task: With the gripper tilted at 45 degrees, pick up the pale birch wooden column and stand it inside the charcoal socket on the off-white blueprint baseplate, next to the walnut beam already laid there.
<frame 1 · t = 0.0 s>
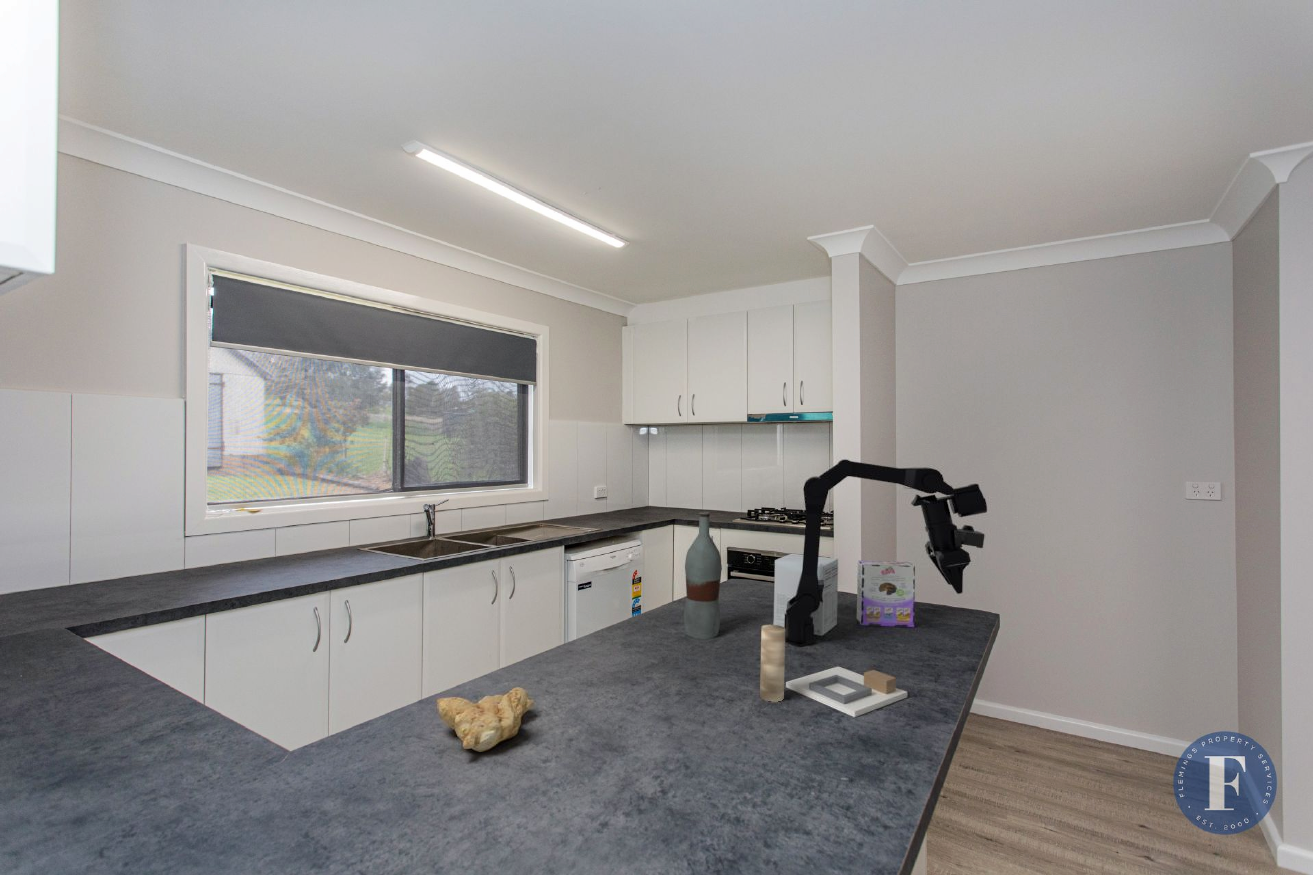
hand: (955, 588, 144), 15 cm above the counter, tool pointing down, fingers open, 9 cm apart
candy box: (884, 624, 170), on the counter
bottle: (701, 634, 157), on the counter
supplement box: (805, 626, 166), on the counter
wooden column: (771, 697, 119), on the counter
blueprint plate: (845, 691, 122), on the counter
ginger root: (486, 738, 101), on the counter
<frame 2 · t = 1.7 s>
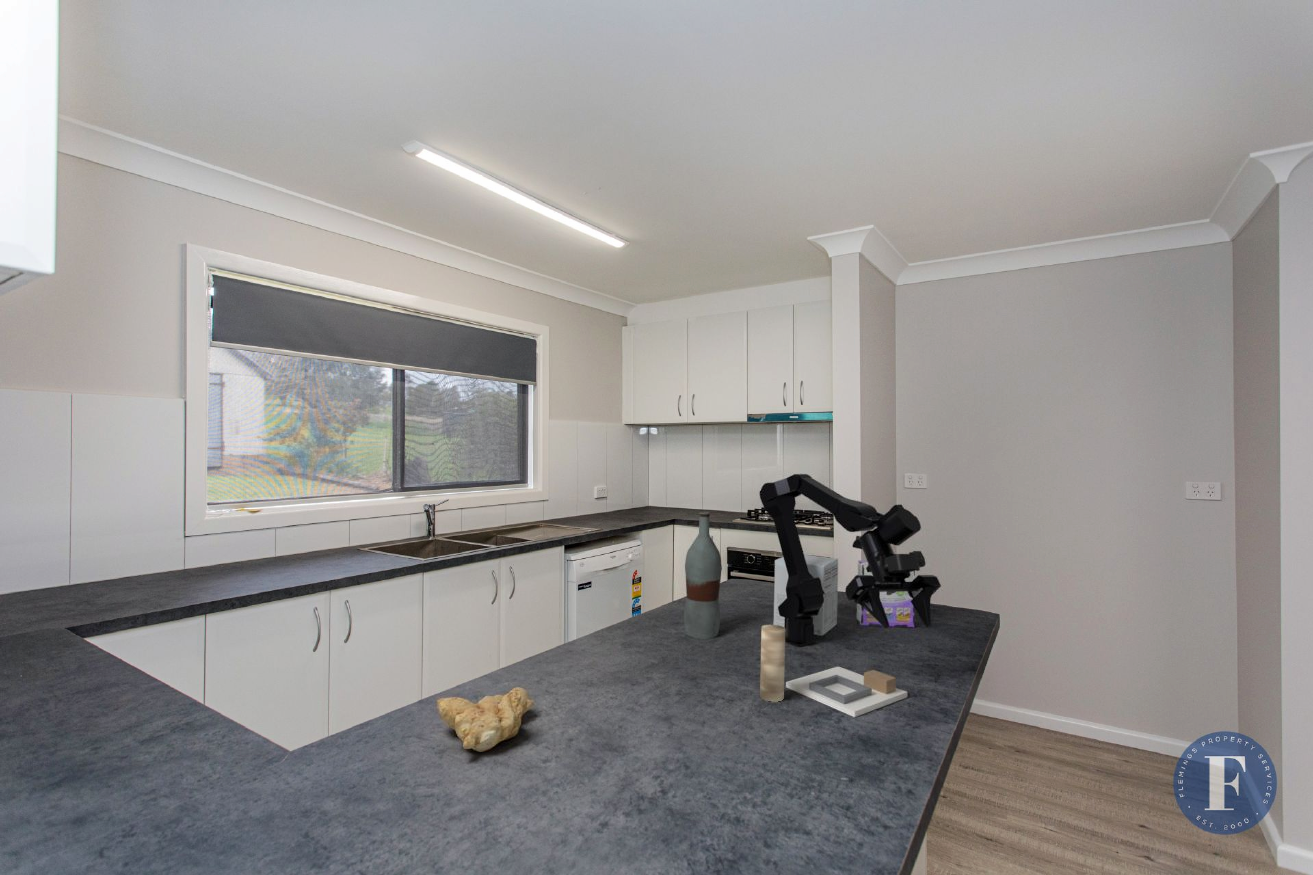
hand: (908, 626, 123), 13 cm above the counter, tool tilted 40°, fingers open, 9 cm apart
nothing on the counter moved.
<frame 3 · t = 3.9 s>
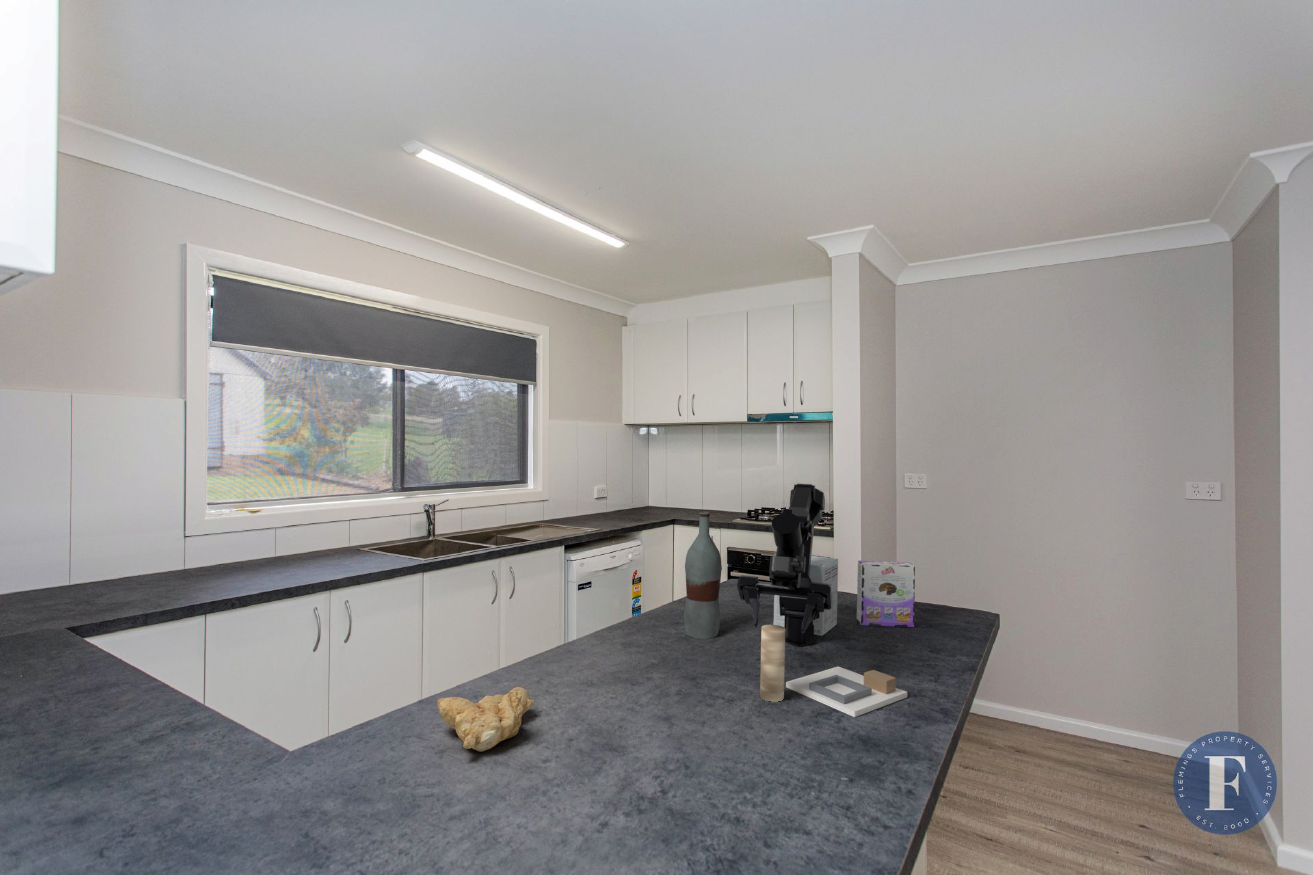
hand: (778, 628, 125), 11 cm above the counter, tool tilted 45°, fingers open, 9 cm apart
nothing on the counter moved.
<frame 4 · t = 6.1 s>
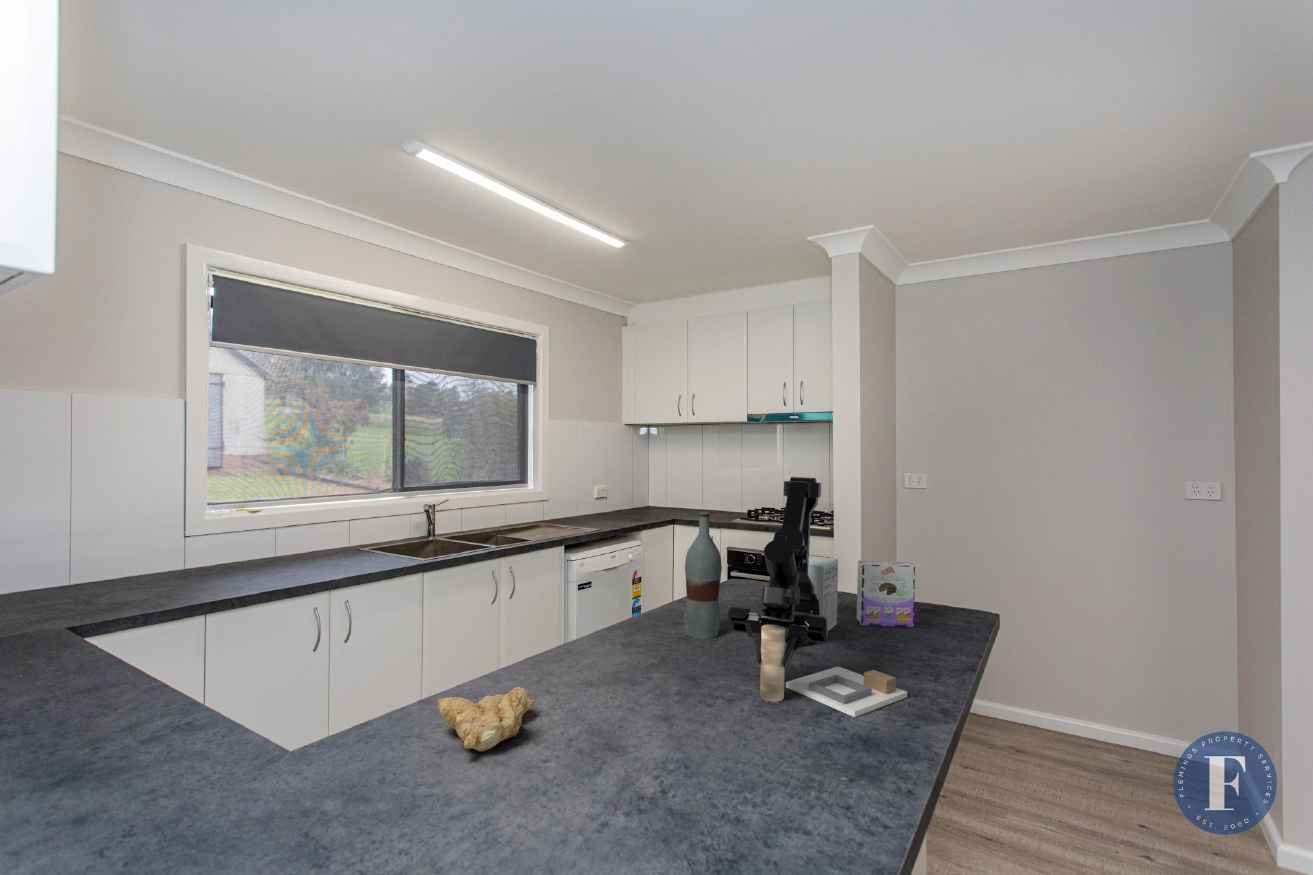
hand: (771, 664, 118), 7 cm above the counter, tool tilted 45°, fingers closed on wooden column, 4 cm apart
wooden column: (771, 697, 119), on the counter, touching gripper
everything else where it was.
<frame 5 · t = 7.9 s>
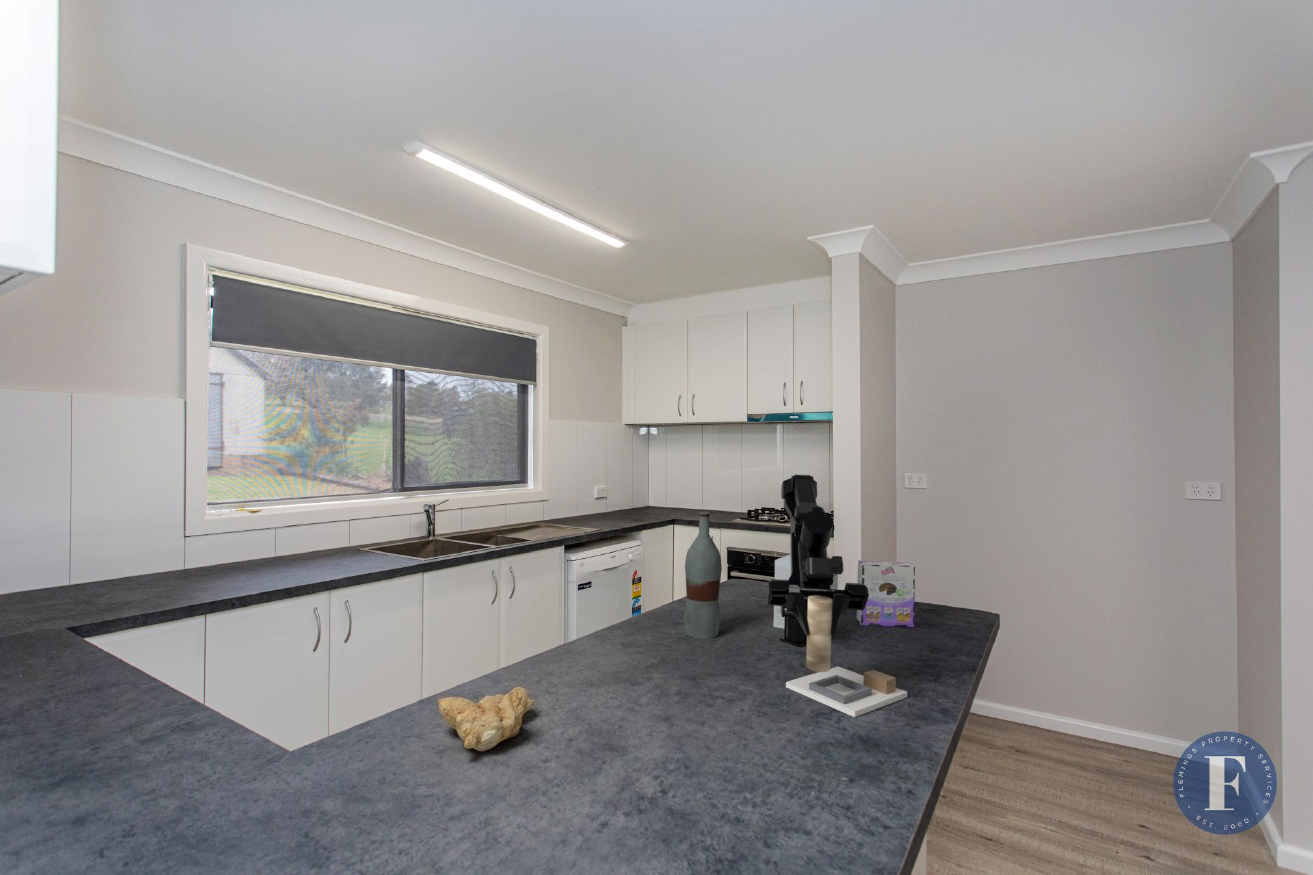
hand: (820, 634, 118), 12 cm above the counter, tool tilted 45°, fingers closed on wooden column, 4 cm apart
wooden column: (818, 667, 119), point 6 cm above the counter, touching gripper
everything else where it was.
when the fingers open (9 cm above the counter, at t = 9.9 s): wooden column drops 1 cm, resting on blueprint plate.
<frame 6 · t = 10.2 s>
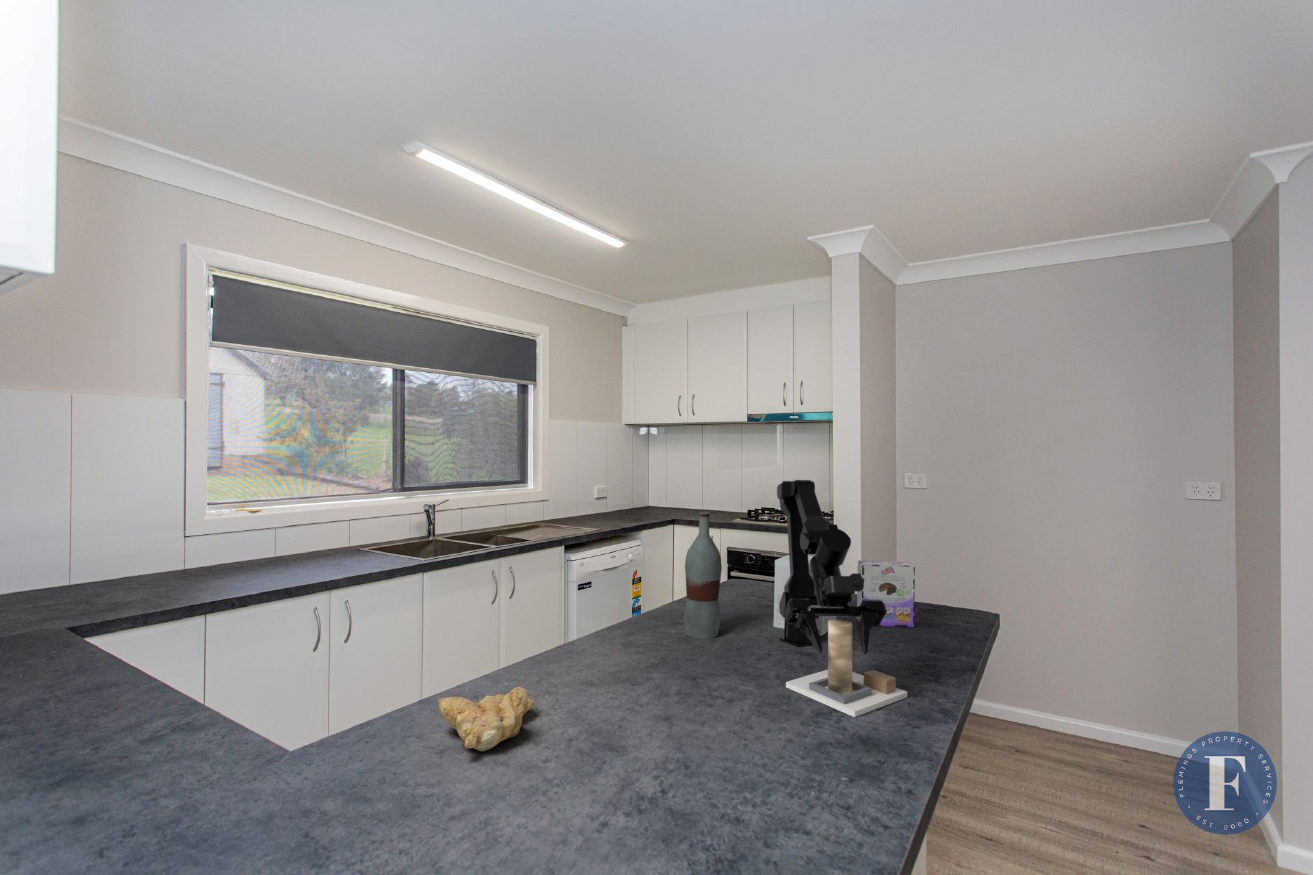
hand: (843, 652, 118), 9 cm above the counter, tool tilted 45°, fingers open, 8 cm apart
wooden column: (840, 691, 120), point 1 cm above the counter, touching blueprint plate
everything else where it was.
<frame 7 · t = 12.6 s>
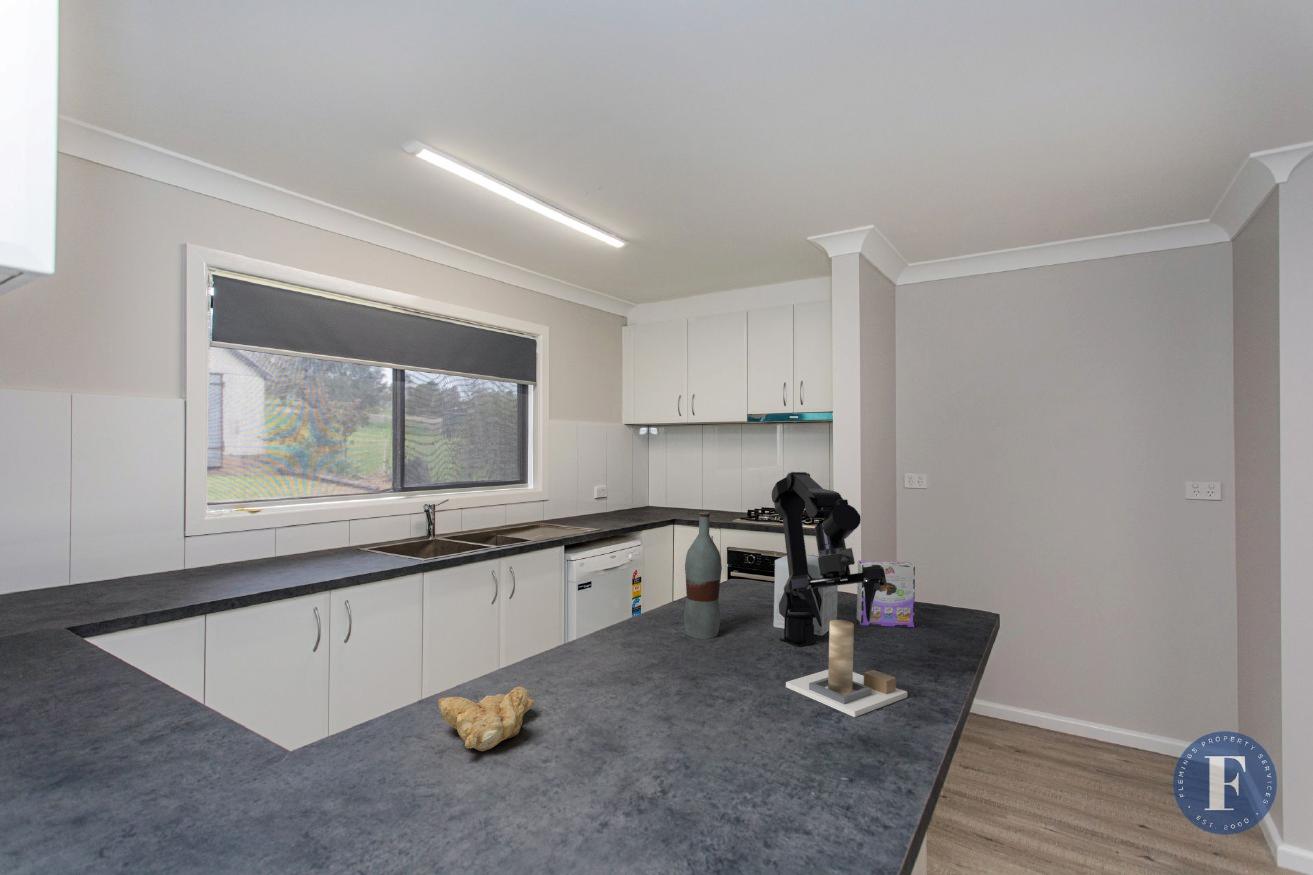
hand: (844, 623, 125), 12 cm above the counter, tool tilted 30°, fingers open, 9 cm apart
nothing on the counter moved.
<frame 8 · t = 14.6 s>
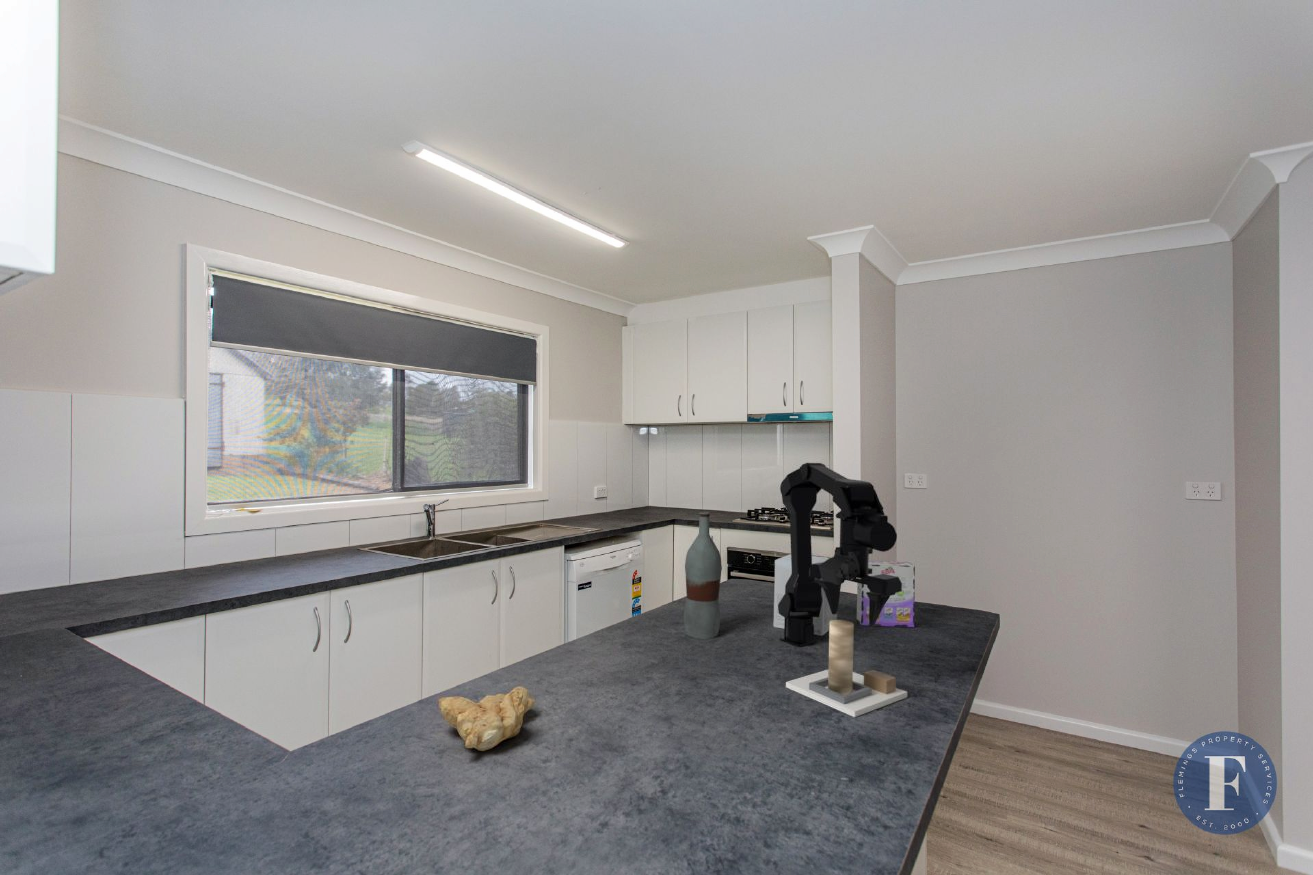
hand: (852, 619, 130), 12 cm above the counter, tool pointing down, fingers open, 9 cm apart
nothing on the counter moved.
at the end: wooden column 0.0 cm from the target spot on the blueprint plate, point 1.0 cm above the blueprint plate's base; wooden column tilted 0°; the gripper is holding nothing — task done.
